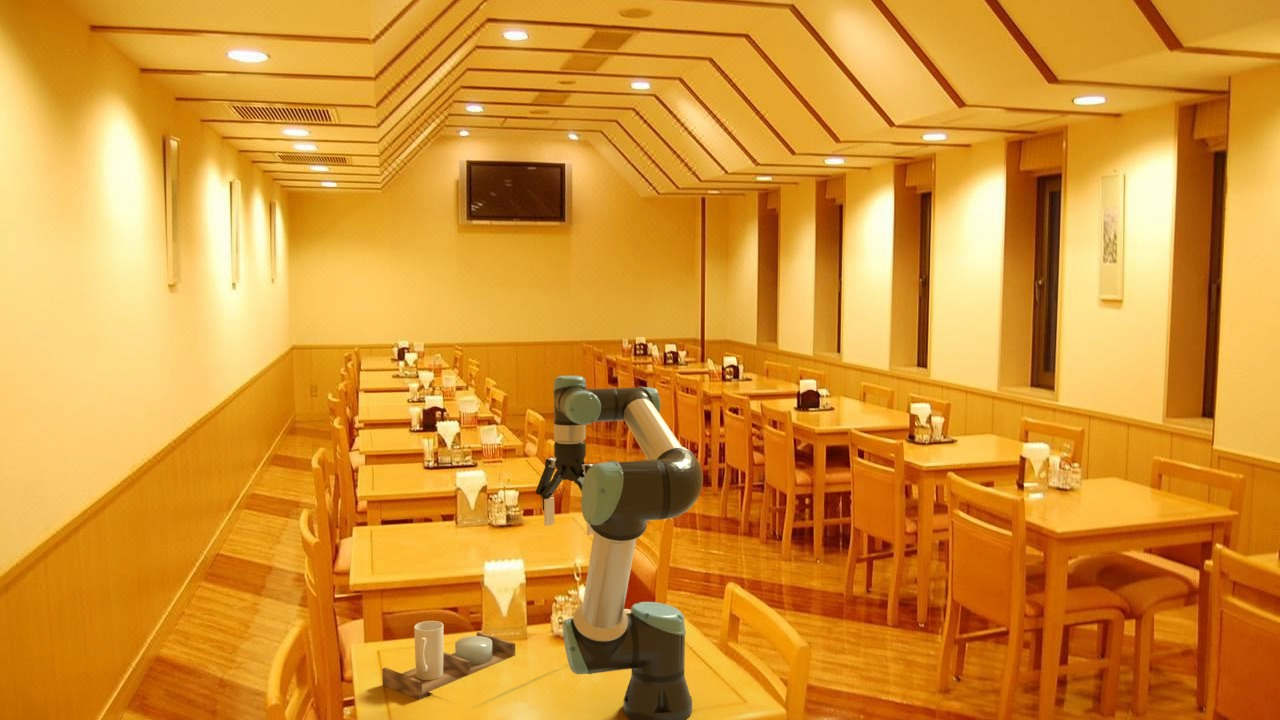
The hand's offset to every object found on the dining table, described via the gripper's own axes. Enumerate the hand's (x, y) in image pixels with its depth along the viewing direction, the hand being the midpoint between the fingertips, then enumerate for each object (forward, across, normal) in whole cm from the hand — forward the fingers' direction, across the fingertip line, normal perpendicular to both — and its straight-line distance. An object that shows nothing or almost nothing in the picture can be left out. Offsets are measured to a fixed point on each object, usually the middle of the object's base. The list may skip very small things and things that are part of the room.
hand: (570, 529), depth 242 cm
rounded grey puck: (+34, +22, +11) cm, 42 cm away
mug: (+34, +22, +26) cm, 48 cm away
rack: (+35, +22, +18) cm, 45 cm away
